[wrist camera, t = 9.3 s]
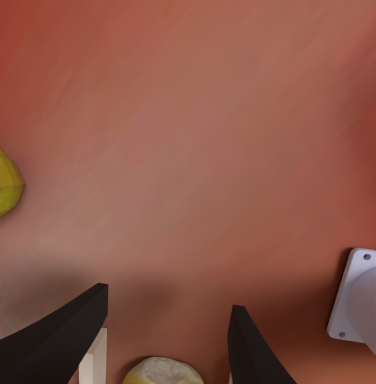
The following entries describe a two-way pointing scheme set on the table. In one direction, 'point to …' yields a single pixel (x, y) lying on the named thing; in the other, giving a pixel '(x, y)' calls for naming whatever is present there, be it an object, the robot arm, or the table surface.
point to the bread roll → (162, 372)
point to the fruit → (9, 184)
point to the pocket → (98, 361)
